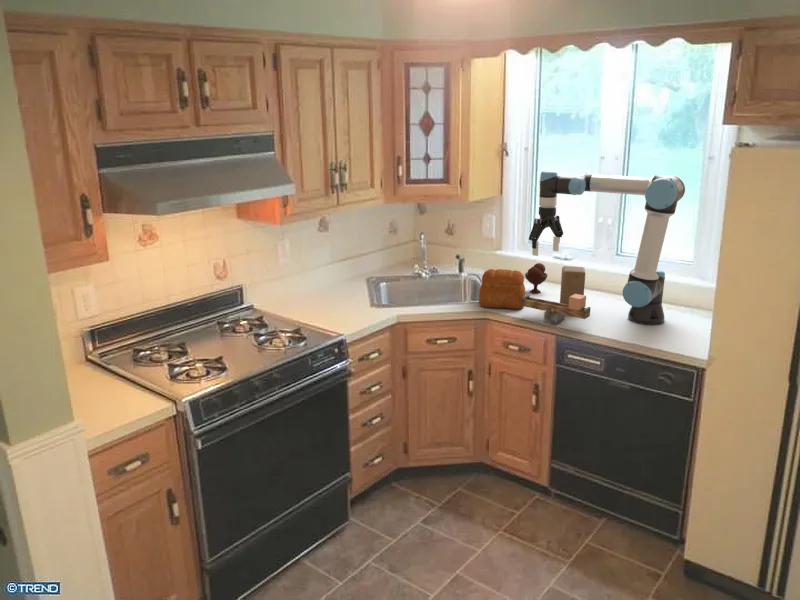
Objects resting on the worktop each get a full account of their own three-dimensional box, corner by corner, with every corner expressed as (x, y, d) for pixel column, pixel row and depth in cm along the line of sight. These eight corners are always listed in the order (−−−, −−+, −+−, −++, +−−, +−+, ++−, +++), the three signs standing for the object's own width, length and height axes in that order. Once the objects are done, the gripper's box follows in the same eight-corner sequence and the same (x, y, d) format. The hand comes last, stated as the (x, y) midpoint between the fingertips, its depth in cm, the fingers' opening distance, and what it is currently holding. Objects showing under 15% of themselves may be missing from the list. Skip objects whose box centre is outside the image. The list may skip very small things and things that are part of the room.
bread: (523, 311, 315) (525, 276, 310) (477, 308, 319) (478, 274, 314) (525, 300, 331) (527, 267, 326) (481, 298, 336) (482, 264, 331)
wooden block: (582, 314, 310) (585, 272, 304) (559, 313, 312) (562, 271, 306) (581, 308, 319) (584, 266, 313) (559, 306, 321) (562, 265, 315)
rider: (585, 309, 293) (586, 295, 292) (579, 313, 289) (580, 299, 287) (574, 307, 296) (575, 293, 295) (568, 310, 292) (569, 296, 290)
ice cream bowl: (532, 288, 352) (534, 259, 347) (550, 292, 344) (552, 263, 339) (519, 292, 345) (521, 263, 340) (537, 296, 337) (539, 267, 333)
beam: (590, 326, 295) (591, 306, 292) (582, 331, 289) (584, 310, 286) (528, 312, 313) (529, 294, 310) (519, 317, 307) (520, 298, 304)
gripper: (559, 202, 312) (557, 247, 318) (521, 208, 298) (520, 255, 304) (572, 204, 306) (570, 250, 312) (534, 210, 292) (532, 258, 298)
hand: (545, 253), depth 308 cm, fingers open, 13 cm apart
